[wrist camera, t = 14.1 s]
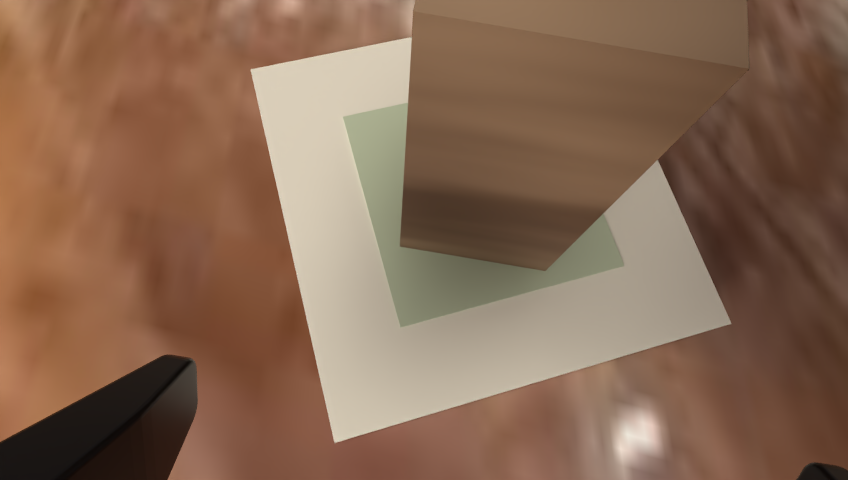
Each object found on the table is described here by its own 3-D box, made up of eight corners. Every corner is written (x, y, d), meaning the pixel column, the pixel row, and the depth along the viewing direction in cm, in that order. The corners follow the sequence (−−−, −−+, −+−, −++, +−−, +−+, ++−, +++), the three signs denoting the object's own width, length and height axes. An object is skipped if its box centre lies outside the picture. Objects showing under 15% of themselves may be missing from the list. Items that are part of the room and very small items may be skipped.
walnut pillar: (545, 271, 17) (774, 43, 7) (399, 246, 17) (414, -19, 7) (557, 141, 18) (761, -206, 8) (422, 118, 18) (463, -258, 8)
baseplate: (342, 440, 17) (334, 443, 15) (266, 110, 21) (249, 67, 18) (688, 336, 19) (733, 323, 17) (565, 46, 22) (587, -1, 20)
